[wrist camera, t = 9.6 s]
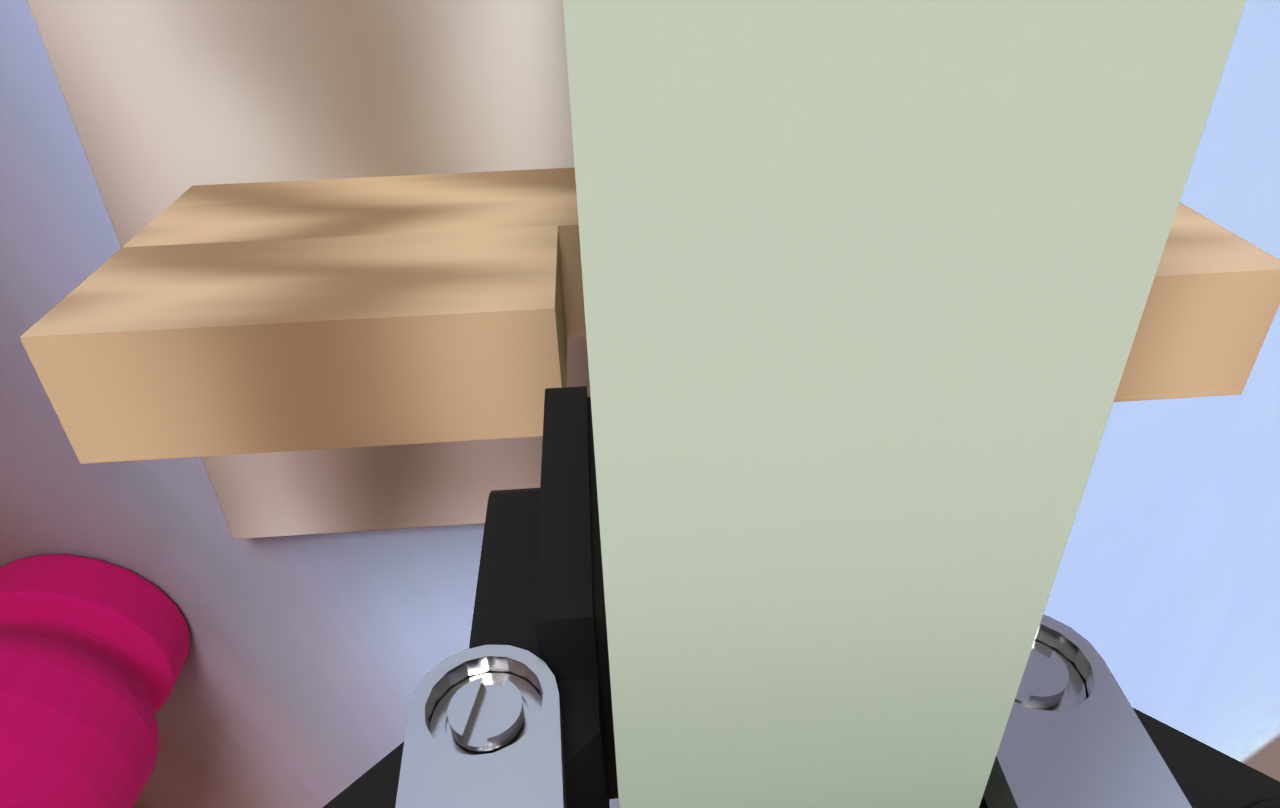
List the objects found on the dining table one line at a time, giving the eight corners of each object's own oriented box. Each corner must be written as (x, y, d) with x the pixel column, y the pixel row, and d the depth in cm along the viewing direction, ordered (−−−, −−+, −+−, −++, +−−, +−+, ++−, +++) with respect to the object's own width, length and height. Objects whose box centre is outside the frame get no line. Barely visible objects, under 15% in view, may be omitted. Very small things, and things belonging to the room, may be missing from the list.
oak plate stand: (244, 516, 25) (124, 758, 18) (-37, -253, 15) (-513, -334, 9) (1042, 466, 26) (1203, 679, 19) (1258, -288, 16) (1739, -384, 10)
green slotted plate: (561, -247, 14) (500, -862, 2) (703, -251, 15) (1531, -859, 2) (609, 519, 24) (651, 1270, 11) (694, 513, 24) (832, 1252, 11)
